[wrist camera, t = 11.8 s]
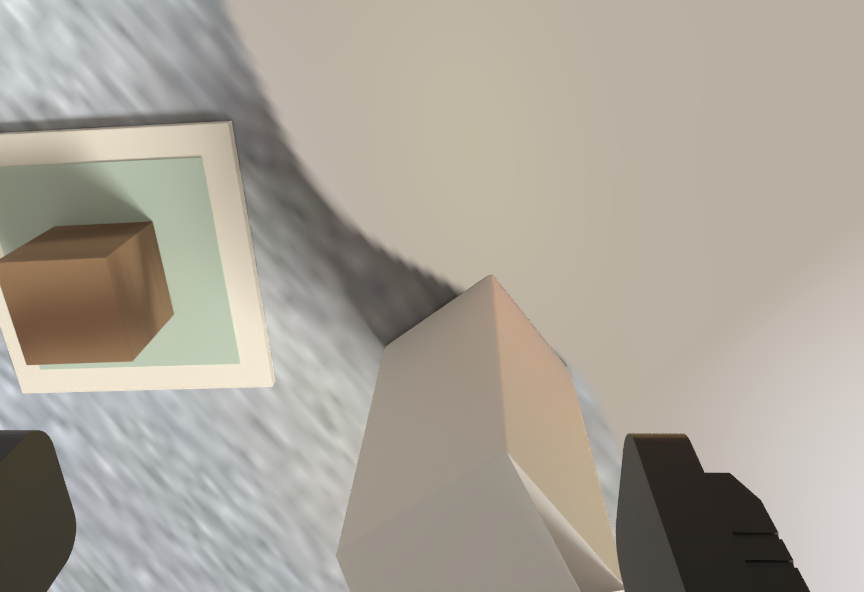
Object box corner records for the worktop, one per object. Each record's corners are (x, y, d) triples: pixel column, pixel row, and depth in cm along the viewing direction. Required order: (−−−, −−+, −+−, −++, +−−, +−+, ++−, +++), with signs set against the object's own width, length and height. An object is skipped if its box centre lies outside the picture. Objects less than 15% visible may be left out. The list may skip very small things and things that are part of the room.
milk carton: (383, 346, 38) (310, 655, 21) (491, 271, 36) (512, 543, 19) (464, 437, 40) (460, 787, 23) (571, 370, 38) (656, 699, 21)
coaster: (-54, 135, 35) (-64, 138, 34) (231, 120, 34) (227, 123, 33) (28, 387, 40) (21, 394, 40) (275, 380, 39) (272, 387, 39)
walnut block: (54, 226, 35) (-8, 263, 31) (152, 221, 35) (105, 257, 30) (80, 318, 37) (26, 365, 33) (174, 314, 37) (132, 361, 32)
